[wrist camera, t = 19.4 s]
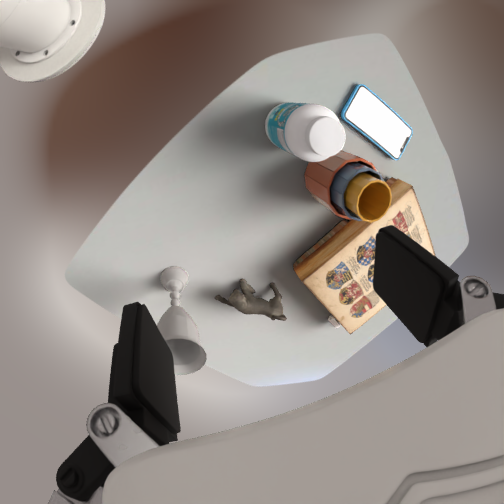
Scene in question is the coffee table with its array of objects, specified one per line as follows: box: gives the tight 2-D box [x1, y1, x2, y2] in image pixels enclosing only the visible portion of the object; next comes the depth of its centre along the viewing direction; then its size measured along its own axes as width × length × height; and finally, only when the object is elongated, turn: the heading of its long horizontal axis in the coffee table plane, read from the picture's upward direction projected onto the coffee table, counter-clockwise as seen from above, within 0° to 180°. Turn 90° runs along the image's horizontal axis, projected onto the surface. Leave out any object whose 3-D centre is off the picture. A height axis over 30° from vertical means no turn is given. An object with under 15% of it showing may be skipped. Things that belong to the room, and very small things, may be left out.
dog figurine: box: [215, 279, 287, 321], centre depth 51 cm, size 12×6×7 cm, turn 65°
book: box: [293, 177, 436, 334], centre depth 55 cm, size 25×6×28 cm
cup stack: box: [304, 150, 385, 221], centre depth 42 cm, size 9×9×11 cm
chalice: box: [157, 266, 206, 375], centre depth 41 cm, size 7×7×18 cm
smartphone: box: [341, 84, 413, 160], centre depth 43 cm, size 8×1×15 cm
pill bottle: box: [265, 103, 346, 162], centre depth 35 cm, size 8×7×14 cm
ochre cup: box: [344, 172, 392, 223], centre depth 41 cm, size 6×6×12 cm
